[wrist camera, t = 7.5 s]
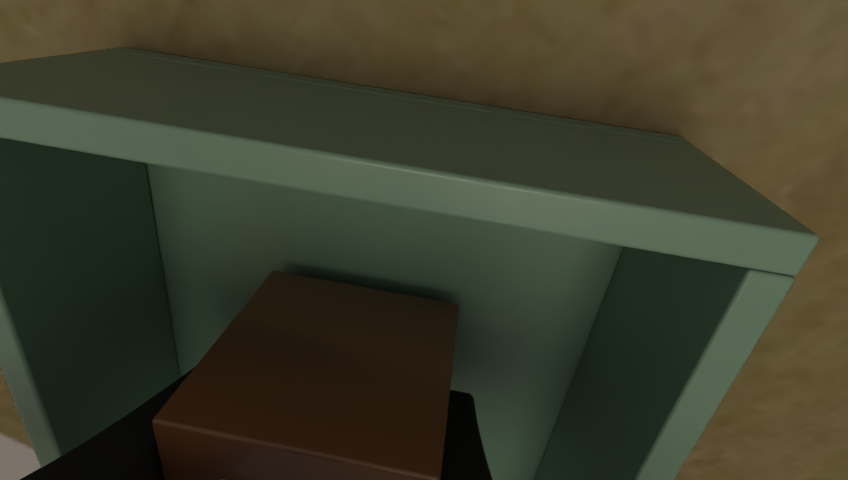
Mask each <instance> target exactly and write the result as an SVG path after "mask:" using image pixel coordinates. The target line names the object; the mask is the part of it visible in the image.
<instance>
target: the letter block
mask: <svg viewBox="0 0 848 480" xmlns="http://www.w3.org/2000/svg"><path fill="white" fill-rule="evenodd" d="M458 312H459V306H458V305H457V304H453V303H448V302H443V301H437V300H432V299H426V298H421V297H415V296H410V295H405V294H399V293H394V292H388V291H383V290H377V289H372V288H367V287H361V286H356V285H350V284H345V283H339V282H334V281H329V280H323V279H318V278H312V277H307V276H301V275H296V274H291V273H285V272H280V271H272V272H271V273H270V274H269V276H268V277H267V278H266V279H265V281H264V282H263V283H262V284H261V286H260V287H259V288H258V289H257V291H256V292H255V293H254V294H253V296H252V297H251V298H250V299H249V301H248V302H247V303H246V304H245V305H244V307H243V308H242V309H241V310H240V312H239V313H238V314H237V315H236V317H235V318H234V319H233V320H232V322H231V323H230V324H229V325H228V327H227V328H226V329H225V330H224V332H223V333H222V334H221V335H220V336H219V338H218V339H217V340H216V341H215V343H214V344H213V345H212V346H211V348H210V349H209V350H208V351H207V353H206V354H205V355H204V356H203V358H202V359H201V360H200V361H199V363H198V364H197V365H196V366H195V367H194V369H193V370H192V371H191V372H190V374H189V375H188V376H187V377H186V379H185V380H184V381H183V382H182V384H181V385H180V386H179V387H178V389H177V390H176V391H175V392H174V394H173V395H172V396H171V397H170V398H169V400H168V401H167V402H166V403H165V405H164V406H163V407H162V408H161V410H160V411H159V412H158V413H157V415H156V416H155V417H154V418H153V421H152V425H153V430H154V434H155V439H156V444H157V448H158V453H159V458H160V462H161V467H162V472H163V476H164V480H441V472H442V463H443V453H444V444H445V434H446V425H447V416H448V406H449V397H450V387H451V378H452V369H453V359H454V350H455V340H456V331H457V322H458Z"/></svg>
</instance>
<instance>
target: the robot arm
mask: <svg viewBox="0 0 848 480" xmlns="http://www.w3.org/2000/svg"><path fill="white" fill-rule="evenodd" d="M193 369H194V368H192V369H191V370H190V371H188V372H187V373H186V374H184V375H183V376H181V377H180V378H179V379H177V380H176V381H175V382H173V383H172V384H170V385H169V386H168V387H166V388H165V389H163V390H162V391H160V392H159V393H158V394H156V395H155V396H153V397H152V398H150V399H149V400H147V401H146V402H145V403H143V404H142V405H140V406H139V407H137V408H136V409H135V410H133V411H132V412H130V413H129V414H127V415H126V416H124V417H123V418H121V419H120V420H118V421H116V422H115V423H113V424H112V425H110V426H109V427H107V428H106V429H104V430H102V431H101V432H99V433H98V434H96V435H95V436H93V437H92V438H90V439H88V440H87V441H85V442H84V443H82V444H81V445H79V446H77V447H76V448H74V449H72V450H71V451H69V452H67V453H66V454H64V455H62V456H61V457H59V458H57V459H56V460H54V461H52V462H50V463H49V464H47V465H45V466H43V467H42V468H40V469H38V470H36V471H35V472H33V473H31V474H29V475H27V476H26V477H24V478H22V479H20V480H164V476H163V472H162V467H161V462H160V458H159V453H158V448H157V444H156V439H155V434H154V430H153V425H152V421H153V418H154V417H155V416H156V415H157V413H158V412H159V411H160V410H161V408H162V407H163V406H164V405H165V403H166V402H167V401H168V400H169V398H170V397H171V396H172V395H173V394H174V392H175V391H176V390H177V389H178V387H179V386H180V385H181V384H182V382H183V381H184V380H185V379H186V377H187V376H188V375H189V374H190V372H191V371H192V370H193ZM441 480H492V477H491V473H490V470H489V467H488V463H487V460H486V456H485V452H484V448H483V444H482V440H481V436H480V432H479V427H478V422H477V417H476V410H475V403H474V398H473V396H472V395H471V394H470V393H465V392H460V391H455V390H450V397H449V406H448V416H447V425H446V434H445V444H444V453H443V463H442V472H441Z"/></svg>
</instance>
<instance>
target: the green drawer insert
mask: <svg viewBox="0 0 848 480" xmlns="http://www.w3.org/2000/svg"><path fill="white" fill-rule="evenodd" d="M818 240H819V237H818V235H817V234H815V233H814V232H812V231H811V230H810V229H808V228H807V227H806V226H804V225H803V224H801V223H800V222H799V221H797V220H796V219H794V218H793V217H792V216H790V215H789V214H788V213H786V212H785V211H783V210H782V209H781V208H779V207H778V206H776V205H775V204H774V203H772V202H771V201H770V200H768V199H767V198H765V197H764V196H763V195H761V194H760V193H759V192H757V191H756V190H754V189H753V188H752V187H750V186H749V185H747V184H746V183H745V182H743V181H742V180H741V179H739V178H738V177H736V176H735V175H734V174H732V173H731V172H730V171H728V170H727V169H725V168H724V167H723V166H721V165H720V164H718V163H717V162H716V161H714V160H713V159H712V158H710V157H709V156H707V155H706V154H705V153H703V152H702V151H700V150H699V149H698V148H696V147H695V146H693V144H691V143H690V142H689V141H687V140H686V139H684V138H683V137H680V136H674V135H668V134H662V133H656V132H649V131H643V130H637V129H631V128H624V127H618V126H612V125H606V124H600V123H593V122H587V121H581V120H575V119H568V118H562V117H556V116H550V115H544V114H537V113H531V112H525V111H519V110H512V109H506V108H500V107H494V106H488V105H481V104H475V103H469V102H463V101H456V100H450V99H444V98H438V97H432V96H425V95H419V94H413V93H407V92H400V91H394V90H388V89H382V88H376V87H369V86H363V85H357V84H351V83H344V82H338V81H332V80H326V79H320V78H313V77H307V76H301V75H295V74H288V73H282V72H276V71H270V70H264V69H257V68H251V67H245V66H239V65H232V64H226V63H220V62H214V61H207V60H201V59H195V58H189V57H183V56H176V55H170V54H164V53H158V52H151V51H145V50H139V49H133V48H127V47H119V48H111V49H105V50H97V51H89V52H81V53H74V54H66V55H58V56H50V57H43V58H35V59H27V60H20V61H12V62H4V63H0V367H1V370H2V372H3V374H4V377H5V379H6V382H7V384H8V387H9V389H10V392H11V394H12V397H13V399H14V402H15V404H16V407H17V409H18V412H19V414H20V417H21V419H22V421H23V424H24V426H25V429H26V431H27V434H28V436H29V439H30V441H31V444H32V446H33V449H34V451H35V454H36V456H37V458H38V461H39V463H40V466H41V468H42V467H43V466H45V465H47V464H49V463H50V462H52V461H54V460H56V459H57V458H59V457H61V456H62V455H64V454H66V453H67V452H69V451H71V450H72V449H74V448H76V447H77V446H79V445H81V444H82V443H84V442H85V441H87V440H88V439H90V438H92V437H93V436H95V435H96V434H98V433H99V432H101V431H102V430H104V429H106V428H107V427H109V426H110V425H112V424H113V423H115V422H116V421H118V420H120V419H121V418H123V417H124V416H126V415H127V414H129V413H130V412H132V411H133V410H135V409H136V408H137V407H139V406H140V405H142V404H143V403H145V402H146V401H147V400H149V399H150V398H152V397H153V396H155V395H156V394H158V393H159V392H160V391H162V390H163V389H165V388H166V387H168V386H169V385H170V384H172V383H173V382H175V381H176V380H177V379H179V378H180V377H181V376H183V375H184V374H186V373H187V372H188V371H190V370H191V369H192V368H194V367H195V366H196V365H197V364H198V363H199V361H200V360H201V359H202V358H203V356H204V355H205V354H206V353H207V351H208V350H209V349H210V348H211V346H212V345H213V344H214V343H215V341H216V340H217V339H218V338H219V336H220V335H221V334H222V333H223V332H224V330H225V329H226V328H227V327H228V325H229V324H230V323H231V322H232V320H233V319H234V318H235V317H236V315H237V314H238V313H239V312H240V310H241V309H242V308H243V307H244V305H245V304H246V303H247V302H248V301H249V299H250V298H251V297H252V296H253V294H254V293H255V292H256V291H257V289H258V288H259V287H260V286H261V284H262V283H263V282H264V281H265V279H266V278H267V277H268V276H269V274H270V273H271V272H272V271H280V272H285V273H291V274H296V275H301V276H307V277H312V278H318V279H323V280H329V281H334V282H339V283H345V284H350V285H356V286H361V287H367V288H372V289H377V290H383V291H388V292H394V293H399V294H405V295H410V296H415V297H421V298H426V299H432V300H437V301H443V302H448V303H453V304H457V305H458V306H459V312H458V322H457V331H456V340H455V350H454V359H453V369H452V378H451V387H450V390H455V391H460V392H465V393H470V394H471V395H472V396H473V398H474V403H475V410H476V417H477V422H478V427H479V432H480V436H481V440H482V444H483V448H484V452H485V456H486V460H487V463H488V467H489V470H490V473H491V477H492V480H674V478H675V477H676V475H677V473H678V472H679V470H680V469H681V467H682V465H683V464H684V462H685V460H686V459H687V457H688V455H689V454H690V452H691V450H692V449H693V447H694V446H695V444H696V442H697V441H698V439H699V437H700V436H701V434H702V432H703V431H704V429H705V427H706V426H707V424H708V423H709V421H710V419H711V418H712V416H713V414H714V413H715V411H716V409H717V408H718V406H719V404H720V403H721V401H722V400H723V398H724V396H725V395H726V393H727V391H728V390H729V388H730V386H731V385H732V383H733V381H734V380H735V378H736V377H737V375H738V373H739V372H740V370H741V368H742V367H743V365H744V363H745V362H746V360H747V358H748V357H749V355H750V354H751V352H752V350H753V349H754V347H755V345H756V344H757V342H758V340H759V339H760V337H761V335H762V334H763V332H764V331H765V329H766V327H767V326H768V324H769V322H770V321H771V319H772V317H773V316H774V314H775V312H776V311H777V309H778V308H779V306H780V304H781V303H782V301H783V299H784V298H785V296H786V294H787V293H788V291H789V289H790V288H791V286H792V285H793V283H794V277H793V276H795V275H797V274H798V273H799V272H800V270H801V269H802V267H803V265H804V264H805V262H806V261H807V259H808V257H809V256H810V254H811V252H812V251H813V249H814V247H815V246H816V244H817V242H818Z"/></svg>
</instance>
